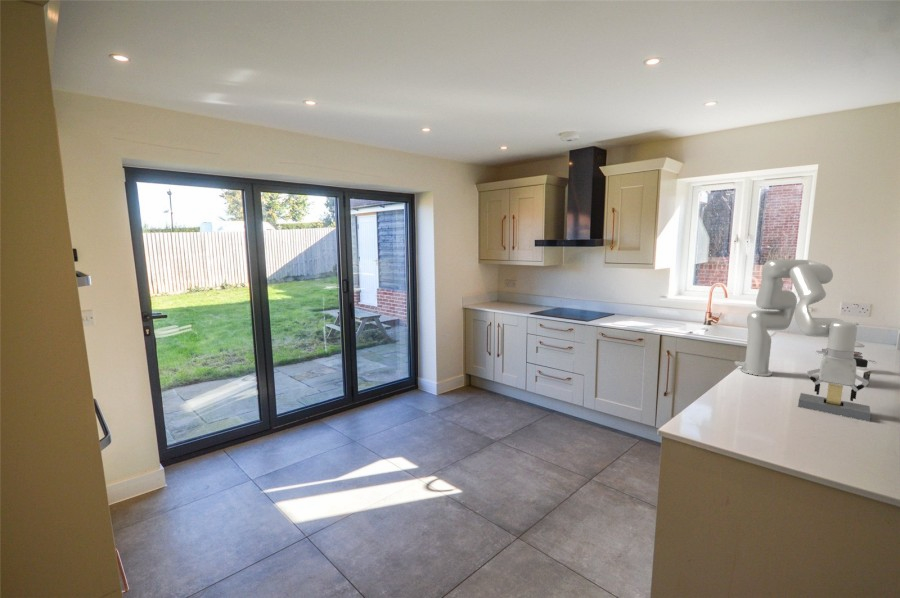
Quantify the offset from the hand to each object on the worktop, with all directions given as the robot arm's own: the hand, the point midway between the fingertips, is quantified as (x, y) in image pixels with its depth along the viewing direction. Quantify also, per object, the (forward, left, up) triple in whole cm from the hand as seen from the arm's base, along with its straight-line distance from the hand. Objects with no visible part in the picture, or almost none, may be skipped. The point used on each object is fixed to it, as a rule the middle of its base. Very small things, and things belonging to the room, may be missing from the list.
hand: (834, 396), depth 159 cm
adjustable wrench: (+3, +108, -6) cm, 108 cm away
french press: (+5, +77, -6) cm, 77 cm away
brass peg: (0, 0, -5) cm, 5 cm away
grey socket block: (0, 0, -5) cm, 5 cm away
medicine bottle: (+7, +50, -6) cm, 51 cm away
